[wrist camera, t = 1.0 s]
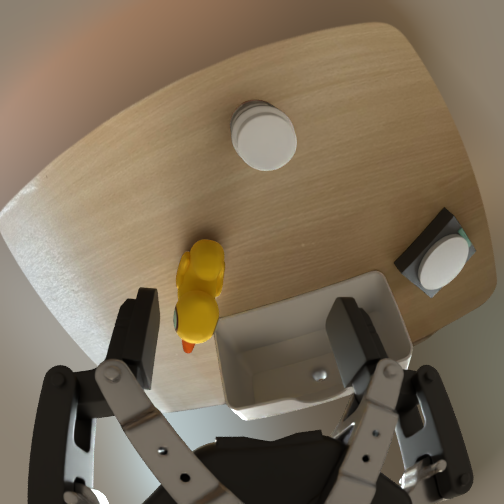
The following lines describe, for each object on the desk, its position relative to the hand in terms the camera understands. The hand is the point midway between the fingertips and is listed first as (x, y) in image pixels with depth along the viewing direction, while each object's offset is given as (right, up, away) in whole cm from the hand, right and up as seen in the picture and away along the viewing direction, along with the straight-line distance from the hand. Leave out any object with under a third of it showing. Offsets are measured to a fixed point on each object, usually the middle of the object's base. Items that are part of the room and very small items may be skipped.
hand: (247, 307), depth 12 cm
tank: (+9, -9, +31) cm, 33 cm away
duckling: (-6, +1, +21) cm, 22 cm away
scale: (+28, +2, +24) cm, 37 cm away
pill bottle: (0, +14, +12) cm, 19 cm away
